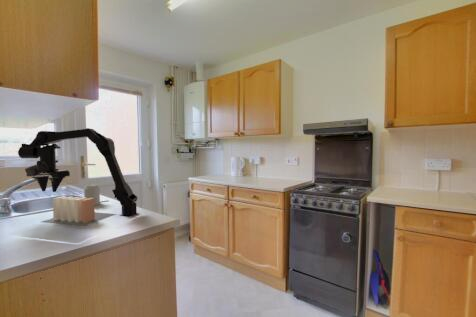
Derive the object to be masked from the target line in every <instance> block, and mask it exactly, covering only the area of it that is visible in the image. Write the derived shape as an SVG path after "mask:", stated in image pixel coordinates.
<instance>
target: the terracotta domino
mask: <svg viewBox="0 0 476 317" xmlns="http://www.w3.org/2000/svg"><path fill="white" fill-rule="evenodd" d="M95 210H96V209H95V205H94V198H89V199H85V200H82V223H87V222H89V221H92V220H95V212H96V211H95Z"/></svg>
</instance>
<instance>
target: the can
mask: <svg viewBox="0 0 476 317" xmlns="http://www.w3.org/2000/svg"><path fill="white" fill-rule="evenodd" d="M83 192H84V194H83V196H84V197H85V198H87V199H89V198H94V206H98V205H100V204H101V194H100V193H101V192H100V186H99V184H92V183H91V184H87V185H85V186H84V188H83ZM84 197H83V198H84Z"/></svg>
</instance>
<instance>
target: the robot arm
mask: <svg viewBox="0 0 476 317" xmlns="http://www.w3.org/2000/svg"><path fill="white" fill-rule="evenodd" d="M83 138H87V139H88V140H90V141H91V143H93V144H94V145H95V147H96V149H97V150H98V152H99V153H100V154H101V155H102V156H103V157H104V159H105V161H106V165H107V167H108V170H109V172H110V174H111V177H112V180H113V183H114V188H113V189H112V190H111V192H112V193H113V195H114V199H116V200H117V201H118V202H119V204H120V206H121V214H120V217H125V218H130V217H134V216H136V215H139V214H140V213H139V212H137V203H136V202H137V201H138V198H139V197H138V196H137V195H136V194H135V193H134V192H133V190H132V188H131V187H130V185H129V183H127V181H126V180H125V178H124V176H123V175H124V174H123V172H122V170H121V168H120V167H121V166H120V165H119V163H118V160H117V156H116V153H115V152H116V147H115V143H114V142H115V141H114V140H113V139H112V138H111V137H106V136H104V135H102V134H101V133H99V132H98V131H97V130H95V129H93V128H88V127H87V128H86V127H85V128H84V129H83V128H81V129H73V130H65V131H64V130H63V131H52V130H51V131H49V130H48V131H47V130H40V131H38V132H37V134H36V136H35V138H34V139H33V140H32V141H31V143H22V144H21V146H20V147H19V149H18V151H17V155H18V156H19V158H21V159H39V160H37V161H36V164H34V165H31V166H29V167H26V168H24V171H25V173H26V177H31V178H32V179H34V180H35V181H37V183H38V185H39V187H40V189H41V192H46V189H47V187H48V181H49V180H50V181H51V183H50V184H51V189H52V192H53V193H55V192H57V190H58V188H59V186H60V184H61V182H62V181H63V180H64V178H66V177H71V176H70V173H71V172H70V171H69V170H68V169H60V170H59V168H57V163H59V160H57V159H56V149H61V147H60V145H58V144H57V143H60V142H62V141H66V140H73V139H83Z"/></svg>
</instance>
